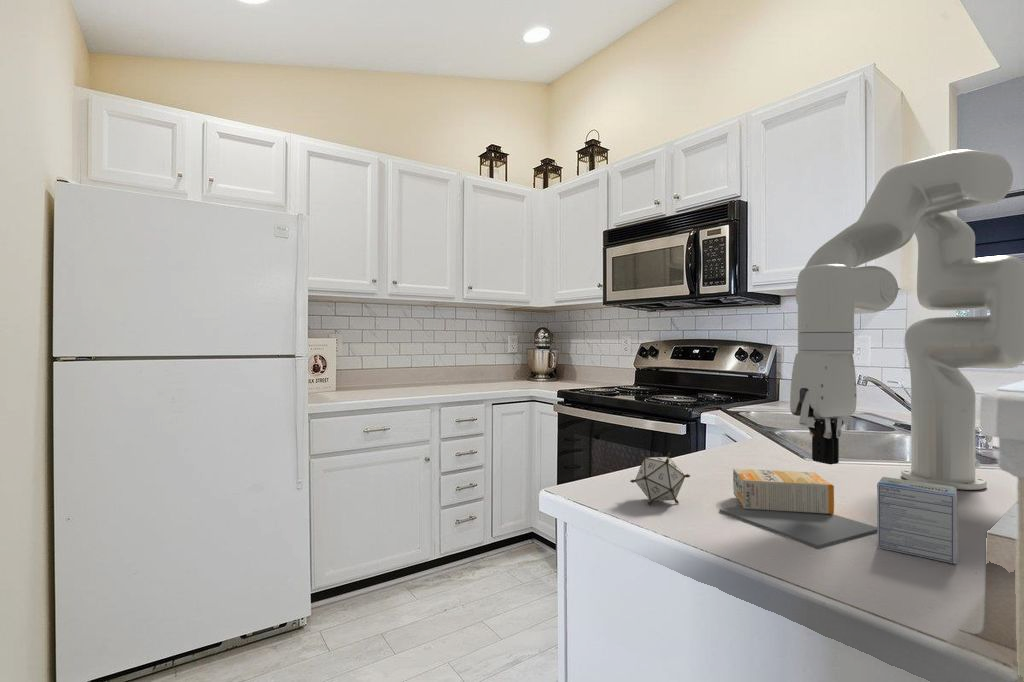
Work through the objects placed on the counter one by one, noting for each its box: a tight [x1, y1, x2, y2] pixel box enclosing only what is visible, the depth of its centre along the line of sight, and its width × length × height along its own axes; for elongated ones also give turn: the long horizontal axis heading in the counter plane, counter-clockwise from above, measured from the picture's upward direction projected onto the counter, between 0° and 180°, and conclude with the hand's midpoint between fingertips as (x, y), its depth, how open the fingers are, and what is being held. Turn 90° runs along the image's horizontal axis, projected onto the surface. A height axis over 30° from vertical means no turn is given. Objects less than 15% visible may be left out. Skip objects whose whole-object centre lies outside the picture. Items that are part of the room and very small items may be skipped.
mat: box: [718, 504, 878, 549], centre depth 77 cm, size 14×16×1 cm
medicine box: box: [876, 476, 958, 565], centre depth 66 cm, size 8×4×9 cm, turn 48°
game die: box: [629, 452, 691, 506], centre depth 86 cm, size 9×8×10 cm
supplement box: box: [732, 467, 835, 514], centre depth 84 cm, size 8×5×13 cm
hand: (825, 462), depth 80 cm, fingers closed
